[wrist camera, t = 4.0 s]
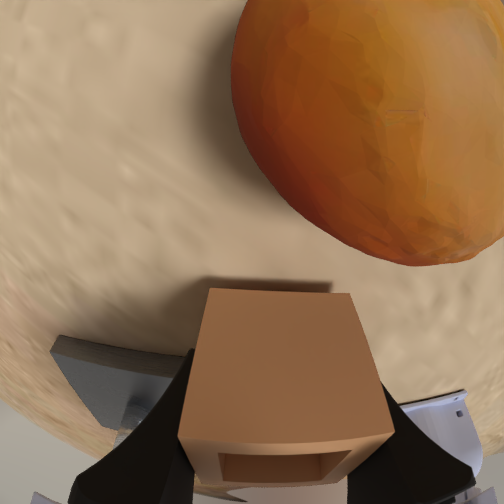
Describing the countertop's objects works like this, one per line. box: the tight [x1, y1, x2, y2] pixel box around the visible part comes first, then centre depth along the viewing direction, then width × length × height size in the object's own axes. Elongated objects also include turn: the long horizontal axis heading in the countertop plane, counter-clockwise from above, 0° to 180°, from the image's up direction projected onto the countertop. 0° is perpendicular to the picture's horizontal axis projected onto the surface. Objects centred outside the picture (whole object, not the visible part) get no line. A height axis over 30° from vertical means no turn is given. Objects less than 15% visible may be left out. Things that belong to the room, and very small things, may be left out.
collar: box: [178, 288, 395, 487], centre depth 9 cm, size 5×5×6 cm
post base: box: [50, 335, 185, 449], centre depth 14 cm, size 10×10×6 cm
